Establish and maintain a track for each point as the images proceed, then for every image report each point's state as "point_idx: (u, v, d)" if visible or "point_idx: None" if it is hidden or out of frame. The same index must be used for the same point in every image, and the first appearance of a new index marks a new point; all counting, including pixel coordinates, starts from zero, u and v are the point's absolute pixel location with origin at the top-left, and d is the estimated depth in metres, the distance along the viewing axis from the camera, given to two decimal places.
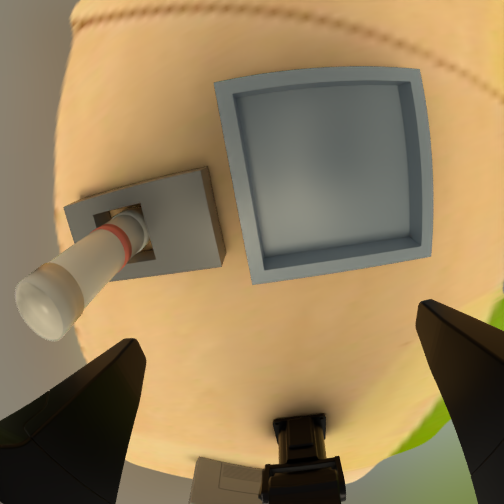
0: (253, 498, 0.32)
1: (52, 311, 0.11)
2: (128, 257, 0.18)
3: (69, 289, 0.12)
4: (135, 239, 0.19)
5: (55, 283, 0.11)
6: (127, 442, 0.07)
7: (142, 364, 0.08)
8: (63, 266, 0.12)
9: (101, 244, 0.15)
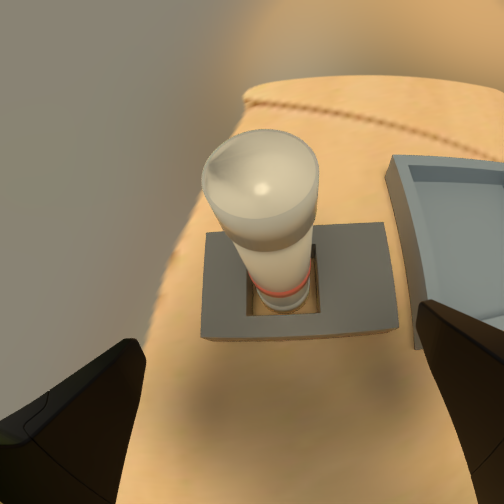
0: None
1: (300, 166, 0.08)
2: (307, 278, 0.15)
3: None
4: None
5: None
6: (127, 442, 0.07)
7: (142, 364, 0.08)
8: None
9: None
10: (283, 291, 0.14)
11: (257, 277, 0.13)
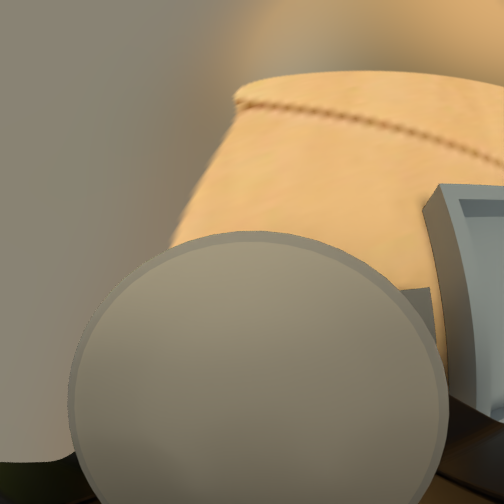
0: None
1: (393, 425, 0.02)
2: None
3: None
4: None
5: None
6: None
7: None
8: None
9: None
10: None
11: None
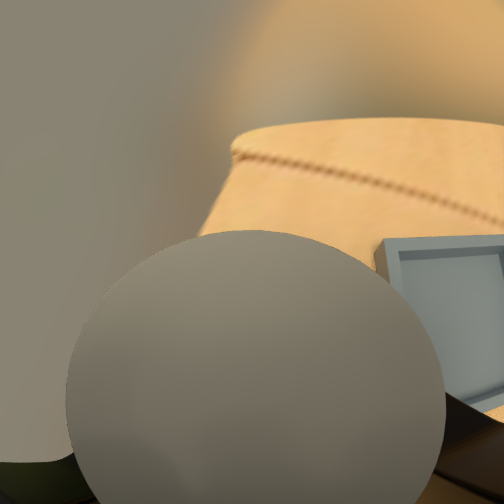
0: None
1: (389, 424, 0.02)
2: None
3: None
4: None
5: None
6: None
7: None
8: None
9: None
10: None
11: None
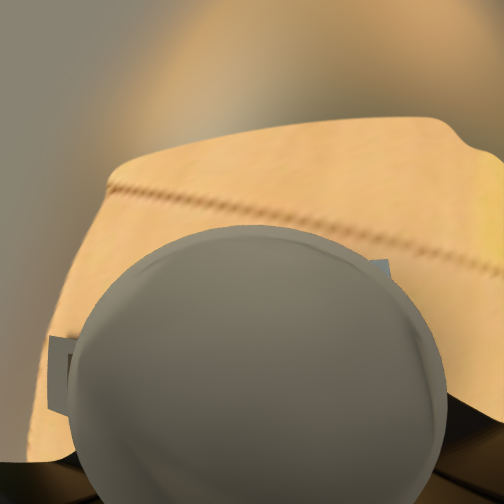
0: None
1: (391, 418, 0.02)
2: None
3: None
4: None
5: None
6: None
7: None
8: None
9: None
10: None
11: None
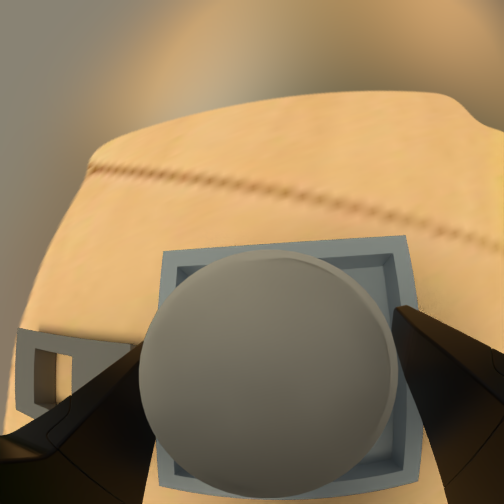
0: None
1: (359, 369, 0.03)
2: None
3: None
4: None
5: None
6: (152, 446, 0.06)
7: None
8: None
9: None
10: None
11: None
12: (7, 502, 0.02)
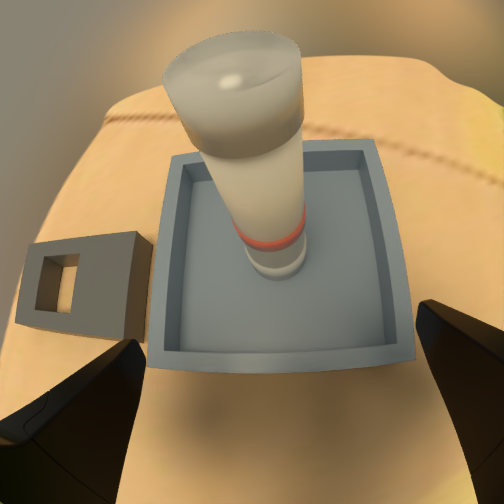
0: None
1: (278, 51, 0.06)
2: (301, 228, 0.13)
3: None
4: (304, 228, 0.14)
5: None
6: (127, 442, 0.07)
7: (142, 364, 0.08)
8: None
9: None
10: (273, 240, 0.12)
11: (239, 217, 0.11)
12: None
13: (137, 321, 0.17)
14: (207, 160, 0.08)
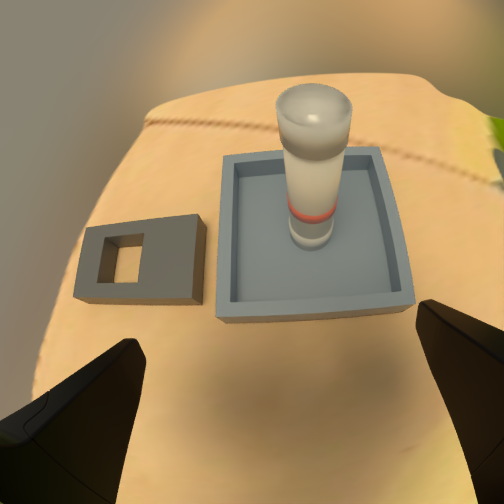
0: None
1: (340, 103, 0.11)
2: (335, 208, 0.18)
3: None
4: None
5: None
6: (127, 442, 0.07)
7: (142, 364, 0.08)
8: None
9: None
10: (318, 215, 0.18)
11: (301, 198, 0.16)
12: None
13: (199, 286, 0.23)
14: (293, 160, 0.13)
